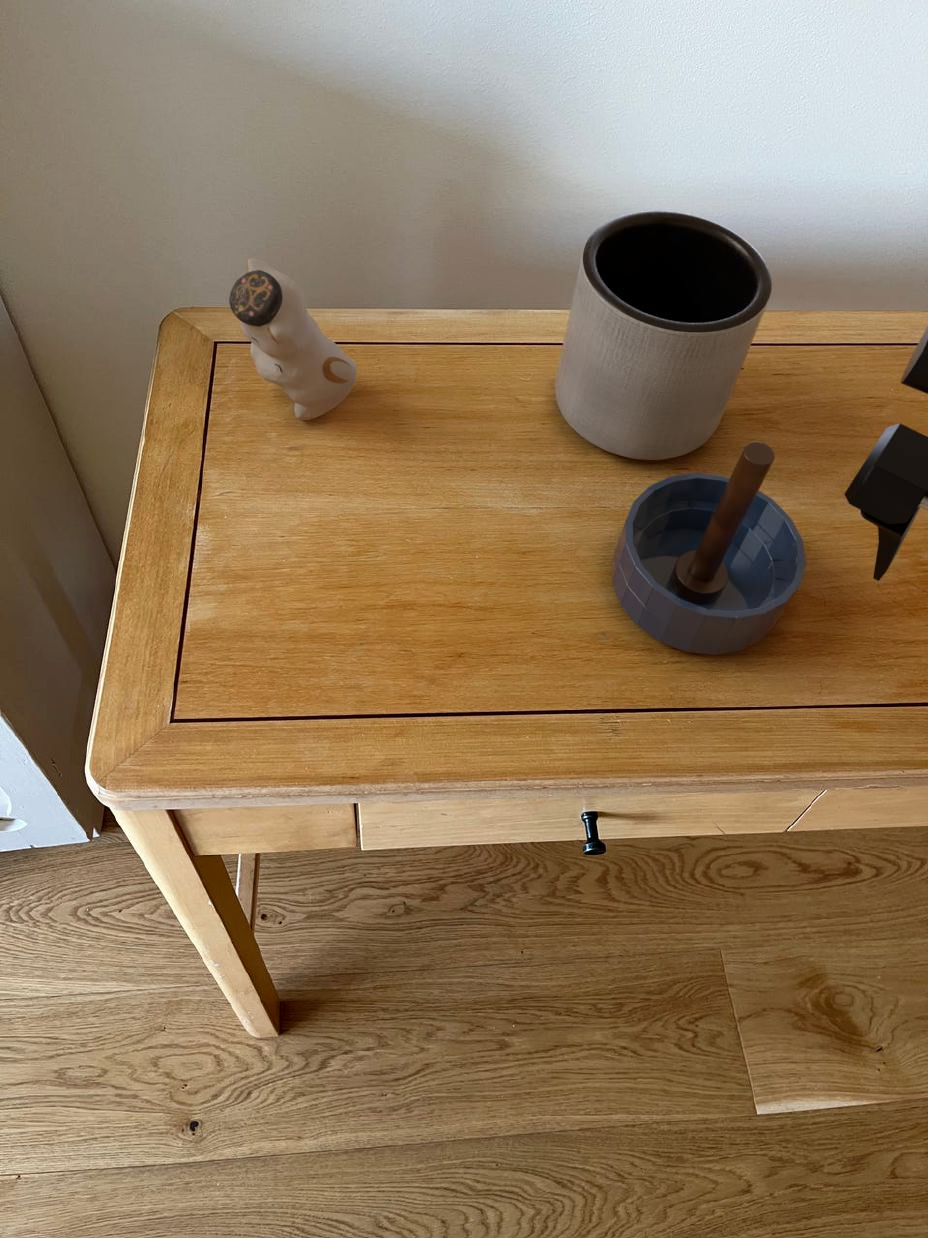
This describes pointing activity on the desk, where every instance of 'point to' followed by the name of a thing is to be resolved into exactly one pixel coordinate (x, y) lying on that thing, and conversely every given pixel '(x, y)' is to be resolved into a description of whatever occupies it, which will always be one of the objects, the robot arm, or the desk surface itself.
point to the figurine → (290, 341)
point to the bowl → (755, 561)
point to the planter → (658, 332)
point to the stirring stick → (722, 529)
